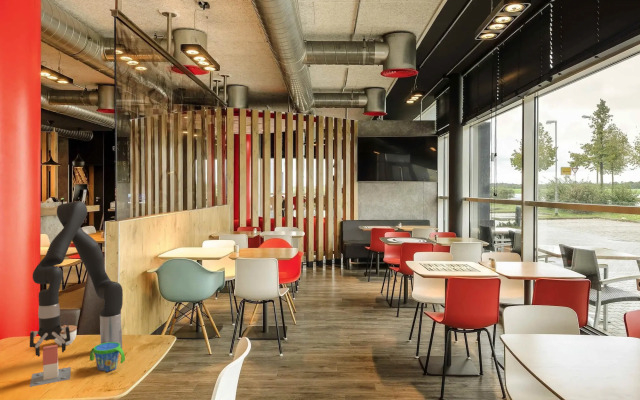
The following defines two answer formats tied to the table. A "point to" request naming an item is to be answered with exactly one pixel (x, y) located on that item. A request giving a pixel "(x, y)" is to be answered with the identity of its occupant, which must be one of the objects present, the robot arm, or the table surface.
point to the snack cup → (107, 355)
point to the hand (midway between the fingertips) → (50, 353)
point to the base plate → (39, 379)
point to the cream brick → (50, 371)
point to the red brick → (50, 354)
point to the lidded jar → (72, 336)
